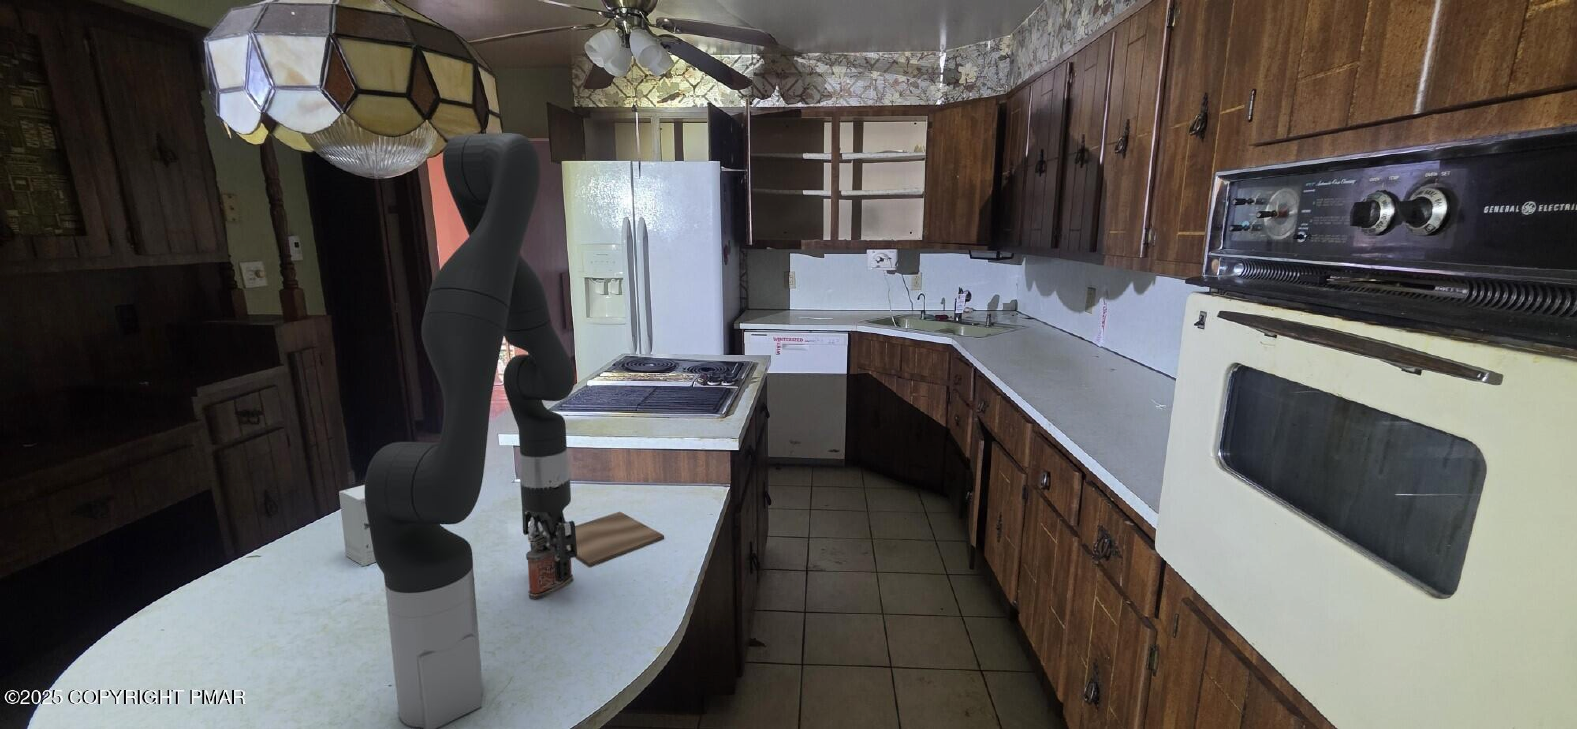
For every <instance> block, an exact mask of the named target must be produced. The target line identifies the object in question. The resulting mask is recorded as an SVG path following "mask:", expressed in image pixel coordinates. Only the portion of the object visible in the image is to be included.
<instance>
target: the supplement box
mask: <svg viewBox="0 0 1577 729" xmlns="http://www.w3.org/2000/svg"><path fill="white" fill-rule="evenodd" d="M364 489H365V484H363V485H359V486H355V487H352V488H347V489H344V490H343V489H342V490H340V491H339V492H338V495H339V504H340V514H341V522H342V532H343V540H344V549H345V550H344V551H345V556H346V557H348V558H349V559H351V560H352V561H354V562H355V563H358V564H359V565H360V566H363V567H366V566H368V565H370V564H373V563H376V560H375V557H374V551H373V545H372V540H371V534H370V528H369V523H368V517H367V512H366V505H365V493H364Z"/></svg>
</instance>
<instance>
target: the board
mask: <svg viewBox="0 0 1577 729" xmlns="http://www.w3.org/2000/svg"><path fill="white" fill-rule="evenodd" d="M575 532H576V545H577V557H574V558H575V559H577V560H578V561H580V562H581V563H582V564H584V565H585V564H586V566H587V567H588V568H591V567H594V566H597V565H599V564H603V563H605V562H607V561H609V560H613V559H615V558H618V557H620V556H623V555H625V554H628V553H627V552H629V553H631V552H634V551H636V550H639V549H641V548H644V547H647V546H649V544H650V545H652V544H654V542H655V543H658V542H660V541H663V540H665V535H664V534H663V533H661V532H659V531H657V530H655V529H654V528H652V527H649V526H648V525H646V524H644V523H642V522H640V521H638V520H636V519H635V518H633V517H631V516H629V515H627V514H625V513H623V512H621V511H617V512H614V513H611V514H608V515H605V516H602V517H599V518H596V519H593V520H590V521H586V522H583V523H581V524H577V525H575ZM662 539H663V540H662ZM657 541H658V542H657ZM646 545H647V546H646ZM570 549H571V548H570ZM633 550H634V551H633ZM617 556H618V557H617ZM596 564H597V565H596Z"/></svg>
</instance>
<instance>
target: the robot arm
mask: <svg viewBox="0 0 1577 729" xmlns="http://www.w3.org/2000/svg"><path fill="white" fill-rule="evenodd" d="M442 168H443V172H444V177H445V181H446V184H447V187H448V188H449V189H448V190H449V192H450V195H451V196H452V199H453V202H454V204H455V206H456V209H457V211H458V214H459V215H460V217H461V219H462V222H463V224H464V227H465V229H466V231H467V234H468V237H467V238H466V239H465V241H464V242H463V243H462V244H461V245H460V246H459V247H458V248H457V249H456V250H455V252H453V253H452V255H451V256H450V257H448V259H447V260H446V261H445V262H444V263H443V265H442V266H441V268H440V269H439V271H438V272H437V273H436V275H435V276H434V278H433V280H432V282H431V286H430V289H429V293H428V297H427V301H426V306H425V311H424V314H423V318H422V322H421V339H422V343H423V348H424V350H425V353H426V355H427V358H428V360H429V362H430V364H431V366H432V368H433V372H434V373H435V376H436V378H437V381H438V383H439V386H440V389H441V391H442V397H443V408H444V409H443V420H442V421H443V422H442V428H441V434H440V437H439V441H438V442H421V441H420V442H418V441H397V442H396V441H395V442H392V443H388V444H386V445H385V446H382V448H380V449H379V450H378V451H377V452H376V453H375V454H374V455H373V457H372V459H371V460H370V462H369V465H368V467H367V469H366V470H367V471H366V474H365V478H364V485H365V489H364V493H365V505H366V512H367V517H368V523H369V528H370V534H371V540H372V545H373V551H374V557H375V560H376V562H375V563H376V565H377V566H378V569H380V571H381V572H382V573H383V574H382V575H383V579H384V587H385V598H386V607H387V608H386V609H387V618H388V626H389V627H388V628H389V635H390V636H389V637H390V645H391V647H390V648H391V655H392V656H391V657H392V664H393V674H394V684H395V690H396V698H397V701H396V702H397V707H398V708H397V709H398V717H399V719H400V720H401V722H402V723H404V725H406V726H409V727H414V728H422V729H438V728H440V727H442V726H445V725H446V724H448V723H450V722H452V721H454V720H456V719H459V718H461V717H462V716H464V715H466V714H469V713H471V712H473V711H475V710H477V709H479V708H480V707H482V705H483V704H482V695H483V694H484V693H483V692H484V691H483V690H484V686H483V671H482V660H481V649H480V647H481V646H480V637H479V622H478V613H477V612H478V611H477V600H476V587H475V576H474V575H475V572H474V561H473V559H474V556H473V550H472V546H471V544H470V542H469V541H467V539H466V538H464V537H462V536H460V535H459V534H456V533H454V532H453V531H450V530H448V529H447V528H445V527H444V526H442V525H456V524H459V523H461V522H463V521H465V520H466V519H467V518H468V517H469V516H470V515H471V514H472V512H473V510H474V508H475V507H476V504H477V502H478V499H479V496H480V492H481V491H482V490H481V489H482V485H483V480H484V472H485V465H486V463H485V462H486V457H487V456H486V455H487V444H488V435H489V422H490V415H491V414H490V412H491V405H492V398H493V397H492V396H493V391H494V387H495V380H496V376H497V375H496V374H497V368H498V365H499V358H500V354H501V349H502V346H503V341H504V339H505V341H506V342H507V343H508V345H511V346H512V347H515V348H518V349H520V350H523V351H525V352H526V353H527V354H525V353H523V354H517V355H515V356H513V357H512V358H510V360H509V361H508V362H507V364H506V366H505V368H504V371H503V378H502V379H503V380H502V382H503V389H504V392H505V396H506V398H507V401H508V404H509V407H510V410H511V412H512V415H513V417H514V420H515V423H516V425H517V428H518V429H517V430H518V441H519V442H518V444H519V453H520V454H519V464H518V466H519V468H518V469H519V470H518V472H519V484H520V485H519V486H520V500H521V515H522V516H521V518H522V534H523V535H524V536H527V540H528V542H529V543H530V541H531V539H533V538H536V537H538V536H540V535H543V537H544V540H545V542H546V545H547V548H549V549H551V550H552V553H553V556H554V559H555V560H554V565H555V580H556V581H558V582H561V581H564V580H567V579H569V577H570V562H569V559H571V560H572V559H573V558H575V557H577V545H576V532H575V526H576V525H575V522H574V520H569V521H566V519H565V515H564V510H565V508H566V507H567V506H569V504H571V501H572V495H571V494H572V491H571V490H572V489H571V474H570V469H571V468H570V460H569V454H568V447H567V442H568V441H567V427H566V426H567V424H566V421H565V417H564V416H562V415H561V414H559V413H557V412H555V411H552V410H550V409H548V408H547V407H546V406H545V404H544V402H543V401H547V402H560V401H562V400H565V399H567V398H568V397H569V396H570V394H571V393H572V391H573V389H574V386H575V382H576V381H575V380H576V374H575V369H574V365H573V362H572V360H571V358H570V355H568V352H567V350H566V349H565V347H564V344H563V343H562V341H561V339H560V337H559V335H558V334H557V331H556V330H555V329H554V326H553V324H552V323H553V322H552V318H551V313H550V309H549V308H550V307H549V305H548V299H547V295H546V292H545V289H544V287H543V283H542V281H541V280H540V278H539V277H538V275H537V274H536V271H534V269H533V268H532V267H531V265H530V264H529V263H528V261H527V260H526V259H525V258H524V257H523V256H522V255H521V250H522V247H523V246H522V245H523V242H524V238H525V236H526V233H527V228H528V226H529V223H530V220H531V216H532V214H533V211H534V207H535V204H536V200H537V197H538V192H539V188H540V182H541V162H540V157H539V153H538V151H537V148H536V146H535V144H534V143H533V142H532V140H530V139H529V138H528V137H526V136H524V135H523V134H519V133H513V132H512V133H511V132H498V133H497V132H495V133H493V132H492V133H476V134H472V133H471V134H460V135H459V134H458V135H455V136H453V137H451V138H450V139H448V141H447V142H446V144H445V146H444V148H443V151H442ZM529 522H530V523H529ZM555 538H558V540H555V541H553V540H552V539H555ZM569 545H570V546H569ZM557 546H558V548H559V552H558V549H557ZM570 548H571V549H570ZM532 549H534V548H531V547H530V550H532Z"/></svg>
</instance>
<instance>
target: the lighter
mask: <svg viewBox="0 0 1577 729" xmlns="http://www.w3.org/2000/svg"><path fill="white" fill-rule="evenodd" d="M552 540H553V541H555V540H558V538H555V539H552ZM529 546H530V547H529V548H530V550H529V551H527V552H526V554H525V556H526V557H525V559H526V560H527V570H528V584H529V587H528V588H529V590H528V598H529V599H530V600H531V601H539V600H542V599H545V598H548V597H549V596H552V595H553V594H556V593H557V592H559V591H561V590H563V589H565V588H566V587H567V586H569V585H570V584H572V583H573V582H574V575H573V573H572V558H571V559H569V562H570V577H569V579H567V580H564V581H561V582H558V581H556V580H555V565H554V560H555V559H554V556H553V553H552V550H551V549H549V548H547V545H546V542H545V540H544V537H543V535H540V536H538V537H536V538H533V539H531V541H530V542H529ZM569 546H570V545H569ZM531 548H534V549H532V550H531ZM557 549H558V552H559V548H558V546H557Z"/></svg>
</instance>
